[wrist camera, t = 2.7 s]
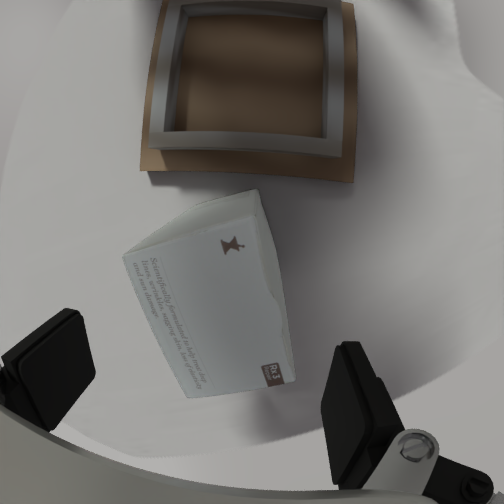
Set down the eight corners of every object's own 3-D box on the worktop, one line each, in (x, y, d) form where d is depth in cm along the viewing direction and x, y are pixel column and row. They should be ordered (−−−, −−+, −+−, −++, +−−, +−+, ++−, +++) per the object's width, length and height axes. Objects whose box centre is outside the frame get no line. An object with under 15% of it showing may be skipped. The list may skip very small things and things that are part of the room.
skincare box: (195, 204, 25) (108, 245, 11) (262, 186, 24) (253, 203, 10) (222, 291, 27) (179, 403, 13) (285, 277, 26) (300, 388, 12)
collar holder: (167, 6, 19) (154, -13, 16) (349, 10, 19) (360, -9, 15) (146, 170, 24) (126, 171, 20) (348, 182, 24) (362, 184, 20)
